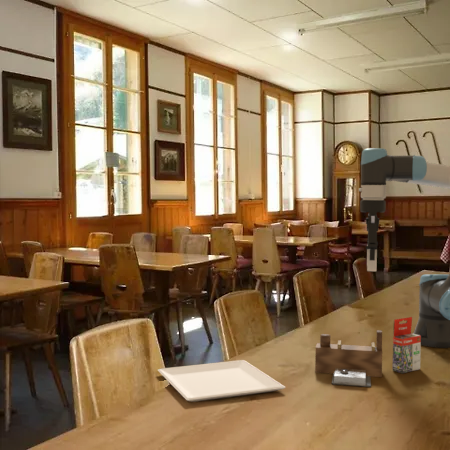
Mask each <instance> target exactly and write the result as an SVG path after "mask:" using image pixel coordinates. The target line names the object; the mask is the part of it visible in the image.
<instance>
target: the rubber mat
mask: <svg viewBox="0 0 450 450" xmlns="http://www.w3.org/2000/svg"><path fill="white" fill-rule="evenodd" d="M371 377H372V376H366V379H365V386H361V385H348V384H335V383H334V374H333V373H332V377H331V385H337V386H338V385H340V386H350V387H352V386H354V387H365V388H366V387H367V388H372V381H371Z"/></svg>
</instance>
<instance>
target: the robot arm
mask: <svg viewBox="0 0 450 450" xmlns="http://www.w3.org/2000/svg"><path fill="white" fill-rule="evenodd" d="M360 160H361V161H360V175H361V176H360V187H359V188H358V192H360V198H361V200H360V201H359V203H360V206H359V207H360V208H359V209H360V210H359V211H360V213H368V214H367V217H366V218H365V224H366V232H367V240H366V241H367V243H366V244H367V245H365V250H366V272H377V270H378V269H377V263H378V262H377V258H378V246H379V242H378V232H379V225H380V218H378V215H377V213H385V212H386V203H387V202H386V200H385V199H386V198H387V182H400V183H406V184H407V183H408V184H414V185H420V186H427V187H428V186H429V187H433V188H434V187H435V188H436V187H437V188H443V189H449V190H450V164H448V165H447V164H443V163H442V164H440V163H433V162H429V161H428V162H427V160H426V158H425V157H424V156H422V155H415V154H414V155H391V154H388V151H387V149H385V148H380V147H379V148H377V147H376V148H374V147H373V148H371V147H369V148H364V149H363V150H362V151H361V159H360ZM418 286H419V295H418V297H419V298H418V300H419V301H418V302H419V303H418V304H419V305H418V320H417V323H416V325H415V329H414V331H413V333H412V334H416V335H420V336H421V346H425V347H428V348H429V347H430V348H440V349H441V348H443V349H449V348H450V273H449V274H437V273H435V274H432V273H430V274H427V273H426V274H422V275H420V278H419V284H418Z"/></svg>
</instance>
